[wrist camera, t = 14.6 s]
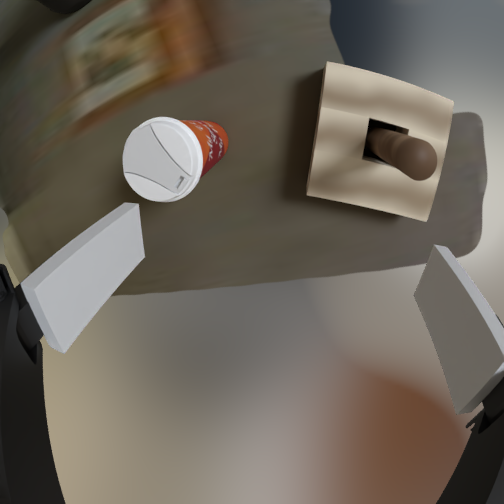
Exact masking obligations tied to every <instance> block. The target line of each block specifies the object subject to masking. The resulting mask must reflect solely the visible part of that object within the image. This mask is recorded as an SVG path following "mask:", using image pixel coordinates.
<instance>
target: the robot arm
mask: <svg viewBox="0 0 504 504" xmlns="http://www.w3.org/2000/svg"><path fill="white" fill-rule="evenodd" d="M37 1H39V2H40V3H42V4H43V5H44V6H46V7H48V8H49V9H50V10H51V11H53V12H57V13H63V14H68V13H72V12H74V11H76V10H78V9H80V8H82V7H83V6H84V5H86V4H87V3H88V2H89V1H91V0H37ZM144 257H145V255H144V247H143V239H142V231H141V222H140V212H139V204H136V203H124V204H122V205H121V206H119V207H118V208H116V209H115V210H113V211H112V212H110V213H109V214H107V215H106V216H105V217H103V218H102V219H100V220H99V221H97V222H96V223H95V224H93V225H92V226H91V227H89V228H88V229H86V230H85V231H84V232H82V233H81V234H80V235H78V236H77V237H76V238H74V239H73V240H72V241H71V242H69V243H68V244H67V245H65V246H64V247H63V248H62V249H60V250H59V251H58V252H57V253H55V254H54V255H52V256H51V257H50V258H49V259H47V260H46V262H44V263H43V264H41V265H40V266H39V267H38V268H37V269H36V270H34V271H33V272H32V273H31V274H30V275H29V276H28V277H26V278H25V279H24V280H23V281H22V282H21V283H20V284H19V285H18V286H16V288H14V286H13V284H12V282H11V279H10V276H9V273H8V271H7V268H6V266H5V265H3V264H0V504H65V500H64V497H63V494H62V491H61V487H60V484H59V481H58V476H57V472H56V468H55V464H54V459H53V455H52V450H51V444H50V439H49V432H48V425H47V418H46V409H45V400H44V386H43V357H42V356H43V355H42V354H43V353H42V352H43V349H42V344H41V342H40V339H41V338H42V336H43V335H44V336H45V338H46V340H47V342H48V344H49V346H50V347H51V348H53V349H55V350H57V351H60V352H61V353H63V354H64V353H65V352H66V351H67V350H68V348H69V347H70V346H71V344H72V343H73V342H74V340H75V339H76V338H77V337H78V335H79V334H80V333H81V331H82V330H83V329H84V328H85V326H86V325H87V324H88V323H89V321H90V320H91V319H92V318H93V316H94V315H95V314H96V313H97V311H98V310H99V309H100V308H101V307H102V305H103V304H104V303H105V302H106V300H107V299H108V298H109V297H110V296H111V295H112V293H113V292H114V291H115V290H116V289H117V288H118V286H119V285H120V284H121V283H122V282H123V281H124V280H125V278H126V277H127V276H128V275H129V274H130V273H131V272H132V270H133V269H134V268H135V267H136V266H137V265H138V264H139V263H140V262H141V260H142V259H143V258H144ZM414 297H415V299H416V302H417V304H418V306H419V309H420V311H421V313H422V316H423V318H424V320H425V323H426V325H427V328H428V330H429V333H430V336H431V338H432V341H433V343H434V346H435V349H436V351H437V354H438V357H439V360H440V363H441V366H442V369H443V371H444V375H445V378H446V381H447V384H448V387H449V390H450V394H451V398H452V401H453V405H454V408H455V412H456V415H457V414H463V413H469V412H472V411H473V410H474V409H475V408H476V407H477V406H478V405H479V404H480V403H481V402H482V403H483V406H484V409H483V410H482V411H480V412H479V413H478V414H477V416H475V417H474V418H473V419H472V420H471V421H470V422H469V423H468V424H467V425H466V428H468V427H469V426H471V425H472V424H473V423H475V425H474V427H473V428H472V429H471V431H472V433H471V435H470V438H469V440H468V443H467V445H466V447H465V450H464V452H463V454H462V456H461V458H460V461H459V463H458V465H457V467H456V469H455V471H454V473H453V475H452V477H451V478H450V480H449V482H448V484H447V486H446V488H445V489H444V491H443V493H442V495H441V497H440V498H439V500H438V501H437V503H436V504H504V326H503V324H502V323H501V321H500V319H499V318H498V317H497V315H496V314H495V313H494V312H493V310H492V309H491V307H490V305H489V304H488V302H487V301H486V299H485V298H484V296H483V295H482V293H481V292H480V291H479V289H478V288H477V286H476V285H475V283H474V282H473V281H472V279H471V278H470V277H469V275H468V274H467V273H466V271H465V270H464V268H463V267H462V266H461V264H460V263H459V262H458V260H457V259H456V258H455V257H454V255H453V254H452V253H451V252H450V250H449V249H448V248H447V247H443V246H438V245H434V246H433V248H432V251H431V254H430V257H429V259H428V262H427V264H426V267H425V270H424V272H423V275H422V277H421V279H420V282H419V284H418V287H417V289H416V291H415V293H414Z"/></svg>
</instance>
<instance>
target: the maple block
mask: <svg viewBox="0 0 504 504" xmlns="http://www.w3.org/2000/svg"><path fill="white" fill-rule="evenodd" d="M453 105H454V101H452V100H449V99H447V98H444V97H443V96H440V95H438V94H435V93H433V92H430V91H428V90H425V89H423V88H420V87H418V86H415V85H412V84H409V83H406V82H403V81H400V80H397V79H394V78H391V77H388V76H385V75H381V74H378V73H374V72H371V71H367V70H363V69H359V68H355V67H351V66H347V65H342V64H337V63H333V62H326V65H325V67H324V70H323V78H322V86H321V94H320V101H319V108H318V115H317V122H316V129H315V136H314V142H313V148H312V155H311V161H310V167H309V173H308V179H307V195H308V196H314V197H319V198H324V199H329V200H334V201H339V202H344V203H349V204H354V205H359V206H363V207H368V208H372V209H377V210H381V211H385V212H389V213H394V214H398V215H402V216H406V217H410V218H414V219H418V220H421V221H425V222H427V219H428V216H429V213H430V209H431V206H432V203H433V199H434V196H435V192H436V189H437V185H438V181H439V178H440V174H441V170H442V165H443V161H444V157H445V152H446V147H447V142H448V137H449V132H450V126H451V120H452V113H453ZM369 119H371V120H375V121H379V122H382V123H386V124H389V125H393V126H396V130H395V132H398V133H402V134H405V135H409V136H412V137H415V138H419V139H422V140H425V141H427V142H428V143H430V144H431V145H432V146H433V148H434V149H435V151H436V154H437V167H436V170H435V172H434V173H433V175H432V176H431V177H430V178H428V179H426V180H423V181H416V180H413V179H411V178H409V177H408V176H407V175H405V174H404V173H402V172H401V171H400V170H398V169H397V168H395V167H394V166H392V165H391V164H389V163H388V162H386V161H384V160H380V159H376V158H372V157H368V156H364V155H363V151H364V145H365V140H366V134H367V129H368V123H369Z"/></svg>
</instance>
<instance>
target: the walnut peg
mask: <svg viewBox="0 0 504 504" xmlns="http://www.w3.org/2000/svg"><path fill="white" fill-rule="evenodd" d="M365 146H366V148H367V149H368V150H369V151H371V152H372V153H374V154H375V155H377V156H379V157H380V158H382V159H383V160H385V161H386V162H388V163H389V164H391V165H392V166H394V167H395V168H397V169H398V170H400V171H401V172H402V173H404V174H405V175H407V176H408V177H409V178H411V179H413V180H416V181H423V180H426V179H428V178H430V177H431V176H432V175H433V173H434V172H435V170H436V167H437V154H436V151H435V149H434V148H433V146H432V145H431V144H430V143H428V142H427V141H425V140H422V139H419V138H415V137H412V136H409V135H405V134H402V133H398V132H394V131H390V130H386V129H382V128H378V127H372V128H370V129H368V130H367V134H366V140H365Z"/></svg>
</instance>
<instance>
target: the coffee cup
mask: <svg viewBox="0 0 504 504" xmlns="http://www.w3.org/2000/svg"><path fill="white" fill-rule="evenodd" d="M227 148H228V136H227V134H226V132H225V130H224V129H223V128H222V127H221V126H220V125H218V124H217V123H214V122H210V121H198V120H176V119H173V118H169V117H157V118H153V119H150V120H147V121H146V122H144V123H142V124H141V125H140V126H139V127H137V128H136V129H135V130H133V131H132V133H131V134H130V136H129V137H128V139H127V141H126V143H125V147H124V152H123V170H124V175H125V177H126V180H127V182H128V183H129V185H130V186H131V187H132V189H133V190H134V191H135V192H136V193H137V194H139V195H140V196H142V197H144V198H146V199H148V200H151V201H159V202H172V201H176V200H179V199H181V198H183V197H185V196H186V195H187V194H189V193H190V192H191V191H192V190H193V188H194V187H195V186H196V184H197V183H198V181H199V179H200V178H201V177H202V176H203V175H204V174H206V173H207V172H208V171H209V170H210V169H211V168H212V167H213V166H214V165H215V164H216V163H217V162H218V161H219V160H220V159H221V158H222V157H223V156H224V155H225V153H226V151H227Z"/></svg>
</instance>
